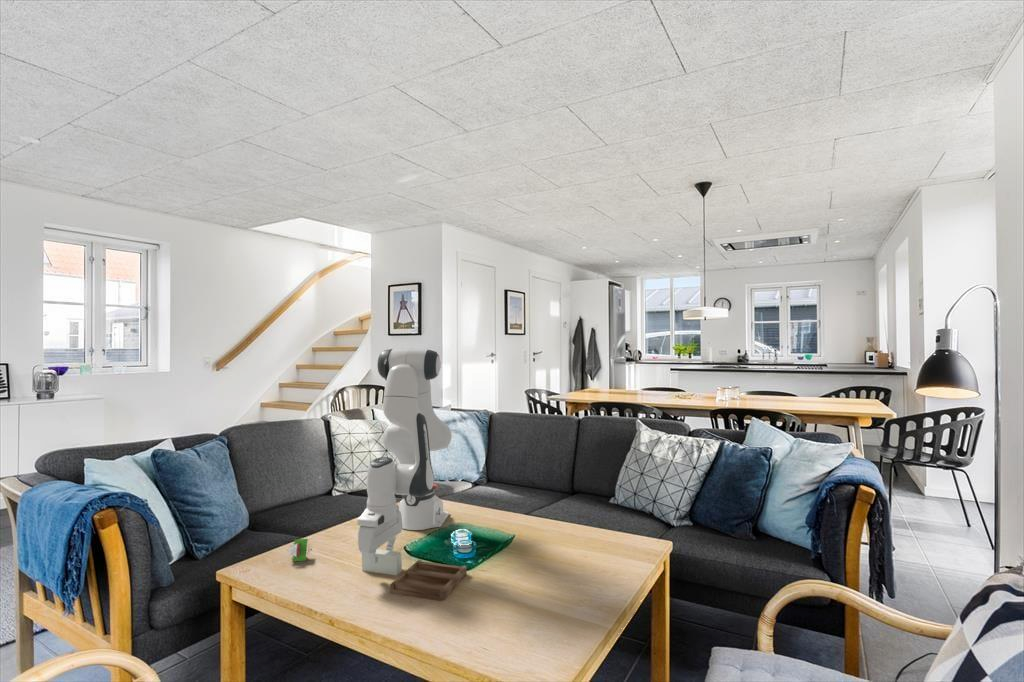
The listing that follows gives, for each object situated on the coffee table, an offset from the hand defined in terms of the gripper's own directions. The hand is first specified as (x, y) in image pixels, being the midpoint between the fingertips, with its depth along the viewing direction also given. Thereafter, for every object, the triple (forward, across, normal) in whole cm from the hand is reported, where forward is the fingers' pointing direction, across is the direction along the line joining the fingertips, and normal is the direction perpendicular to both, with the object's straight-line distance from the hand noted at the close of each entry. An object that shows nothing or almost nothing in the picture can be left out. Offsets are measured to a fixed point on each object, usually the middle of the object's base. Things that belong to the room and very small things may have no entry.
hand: (382, 557), depth 167 cm
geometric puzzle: (+4, -1, -30) cm, 31 cm away
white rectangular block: (+5, 0, 0) cm, 5 cm away
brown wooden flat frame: (+5, +3, +18) cm, 18 cm away
